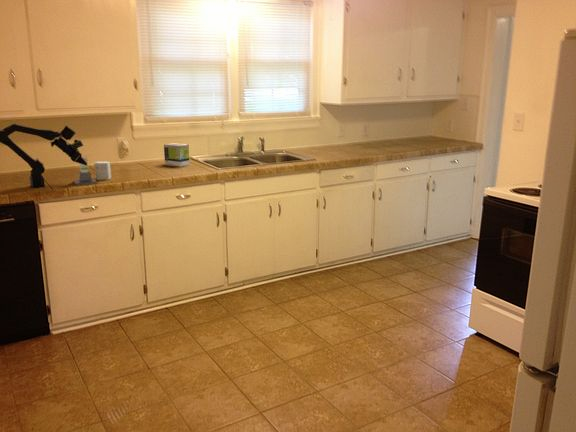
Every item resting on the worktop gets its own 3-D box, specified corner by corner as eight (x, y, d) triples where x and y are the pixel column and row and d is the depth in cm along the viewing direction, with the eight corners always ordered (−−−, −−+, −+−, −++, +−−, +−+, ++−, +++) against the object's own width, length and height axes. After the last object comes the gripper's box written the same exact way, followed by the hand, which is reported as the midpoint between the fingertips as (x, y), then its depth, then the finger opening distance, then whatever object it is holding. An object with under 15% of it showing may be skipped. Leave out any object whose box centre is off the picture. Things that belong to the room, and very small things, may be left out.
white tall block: (81, 174, 318) (79, 158, 315) (80, 173, 321) (78, 156, 318) (88, 174, 319) (87, 157, 317) (87, 172, 323) (86, 156, 320)
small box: (111, 177, 335) (110, 161, 332) (108, 179, 330) (107, 163, 327) (98, 177, 335) (97, 161, 332) (95, 179, 329) (94, 163, 326)
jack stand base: (75, 185, 314) (74, 175, 312) (73, 181, 324) (72, 171, 323) (97, 183, 319) (96, 173, 317) (94, 179, 330) (93, 169, 328)
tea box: (190, 165, 378) (189, 144, 374) (180, 167, 370) (179, 146, 366) (174, 162, 386) (173, 142, 382) (164, 165, 378) (163, 144, 374)
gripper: (75, 137, 304) (97, 155, 312) (72, 133, 320) (93, 151, 328) (61, 152, 303) (84, 170, 311) (59, 147, 319) (80, 164, 327)
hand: (86, 163), depth 319 cm, fingers open, 9 cm apart
